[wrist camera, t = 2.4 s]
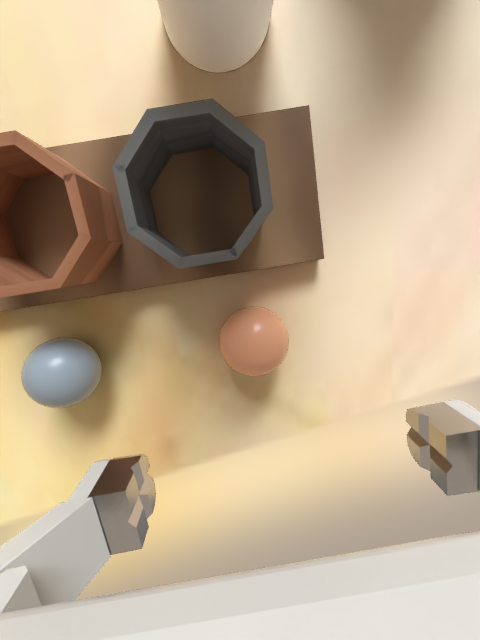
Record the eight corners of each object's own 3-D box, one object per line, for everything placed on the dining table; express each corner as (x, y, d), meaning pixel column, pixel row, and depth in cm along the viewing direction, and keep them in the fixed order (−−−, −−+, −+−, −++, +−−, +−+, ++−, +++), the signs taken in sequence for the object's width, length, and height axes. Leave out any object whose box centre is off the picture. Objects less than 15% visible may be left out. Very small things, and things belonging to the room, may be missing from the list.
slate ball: (103, 325, 24) (70, 343, 19) (118, 384, 25) (91, 415, 20) (40, 336, 24) (-8, 356, 19) (58, 393, 25) (16, 427, 20)
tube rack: (303, 115, 21) (335, 55, 15) (318, 258, 23) (351, 259, 17) (-61, 174, 21) (-185, 139, 15) (-14, 312, 23) (-105, 333, 17)
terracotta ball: (277, 297, 24) (290, 307, 19) (285, 356, 25) (299, 381, 20) (215, 307, 24) (211, 320, 19) (225, 366, 25) (225, 393, 20)
